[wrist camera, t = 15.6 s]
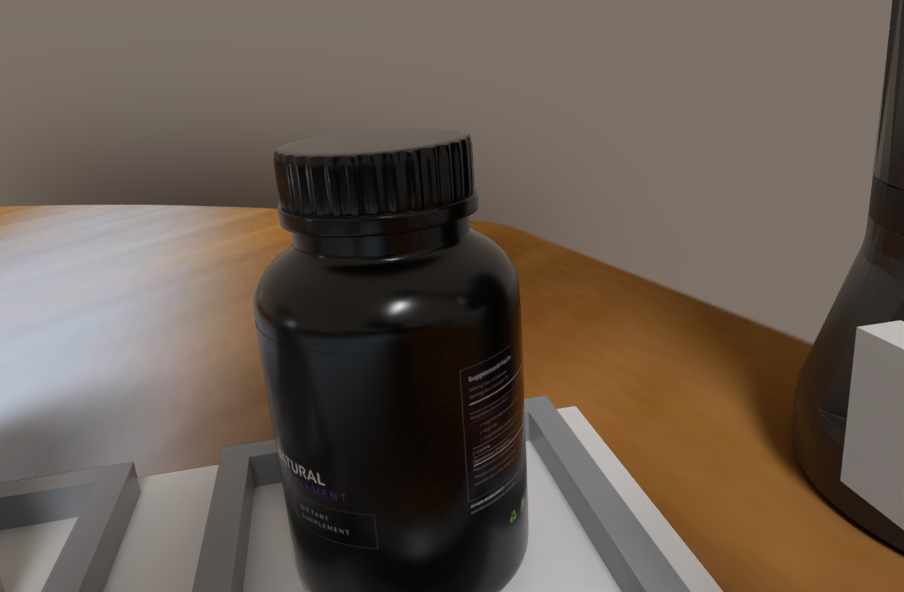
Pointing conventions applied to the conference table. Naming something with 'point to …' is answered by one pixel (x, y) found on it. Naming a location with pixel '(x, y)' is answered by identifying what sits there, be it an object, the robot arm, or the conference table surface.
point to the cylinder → (1, 586)
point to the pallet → (269, 539)
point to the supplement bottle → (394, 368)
